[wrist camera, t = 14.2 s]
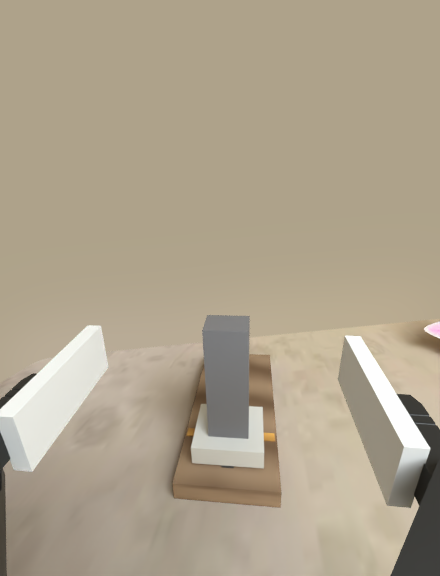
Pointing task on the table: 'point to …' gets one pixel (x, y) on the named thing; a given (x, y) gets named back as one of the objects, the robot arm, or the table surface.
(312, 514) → the table surface
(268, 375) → the board
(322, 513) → the table surface
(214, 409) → the slider
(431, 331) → the lily
